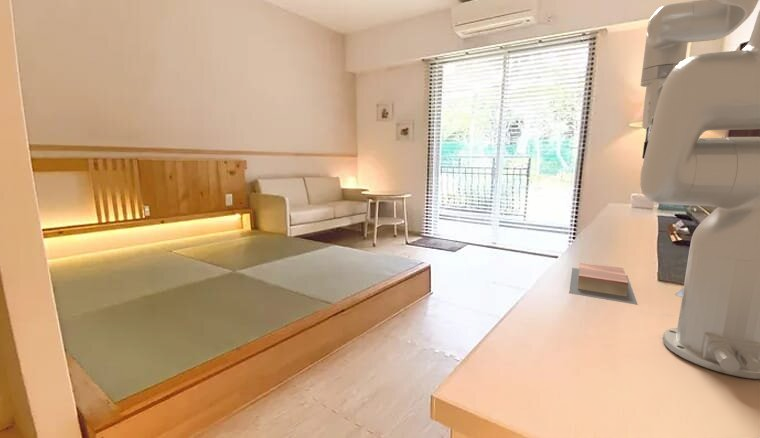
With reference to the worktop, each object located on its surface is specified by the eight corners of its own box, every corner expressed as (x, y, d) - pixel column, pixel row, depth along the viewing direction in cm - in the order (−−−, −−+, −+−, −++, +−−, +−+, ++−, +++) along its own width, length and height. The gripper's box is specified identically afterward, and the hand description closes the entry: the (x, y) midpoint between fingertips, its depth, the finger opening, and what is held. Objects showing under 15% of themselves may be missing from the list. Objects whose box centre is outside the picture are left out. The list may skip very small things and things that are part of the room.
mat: (637, 306, 69) (637, 304, 69) (568, 295, 75) (569, 292, 75) (626, 277, 87) (627, 275, 87) (572, 269, 93) (572, 267, 93)
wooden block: (621, 280, 84) (626, 296, 73) (578, 273, 88) (577, 288, 78) (623, 268, 83) (628, 282, 73) (579, 262, 88) (578, 275, 77)
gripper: (691, 67, 72) (678, 158, 75) (675, 81, 84) (664, 159, 87) (646, 71, 75) (635, 158, 78) (637, 84, 88) (628, 158, 91)
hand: (651, 158), depth 83 cm, fingers closed
